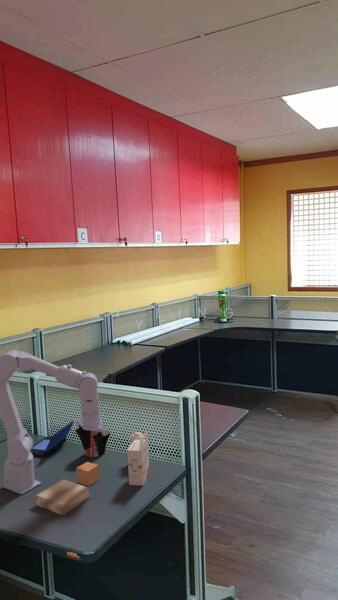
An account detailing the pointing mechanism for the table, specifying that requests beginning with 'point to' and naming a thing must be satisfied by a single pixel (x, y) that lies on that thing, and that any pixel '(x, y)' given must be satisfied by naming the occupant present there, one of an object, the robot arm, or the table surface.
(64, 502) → the birch block
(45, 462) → the table surface
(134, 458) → the ink cartridge box
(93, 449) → the soda can
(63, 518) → the table surface
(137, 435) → the white figurine
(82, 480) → the orange cube
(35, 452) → the handheld game console
